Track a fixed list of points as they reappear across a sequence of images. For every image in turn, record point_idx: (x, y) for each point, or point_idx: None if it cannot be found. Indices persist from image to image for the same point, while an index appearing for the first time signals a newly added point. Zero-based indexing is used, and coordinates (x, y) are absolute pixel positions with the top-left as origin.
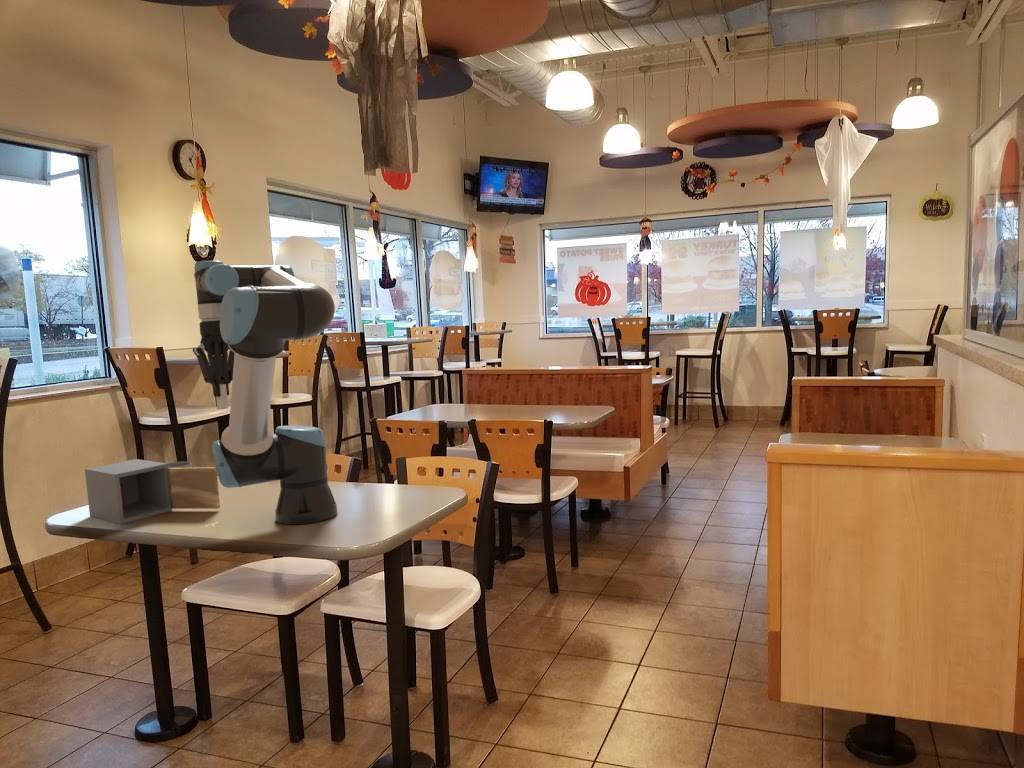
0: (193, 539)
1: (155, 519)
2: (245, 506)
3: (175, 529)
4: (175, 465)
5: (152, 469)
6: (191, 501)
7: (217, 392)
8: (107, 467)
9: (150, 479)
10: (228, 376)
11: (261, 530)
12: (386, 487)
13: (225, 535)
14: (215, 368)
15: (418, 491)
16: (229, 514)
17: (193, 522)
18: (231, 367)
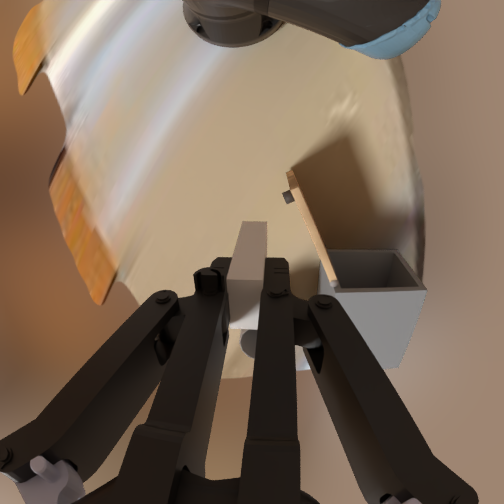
0: (402, 71)
1: (364, 225)
2: (246, 153)
3: (386, 142)
4: (254, 354)
5: (364, 289)
6: (313, 218)
7: (281, 269)
8: (384, 353)
9: None
10: (189, 310)
11: None
12: (63, 62)
13: None
14: (291, 366)
15: (66, 9)
16: (293, 133)
17: (352, 149)
18: (136, 357)
